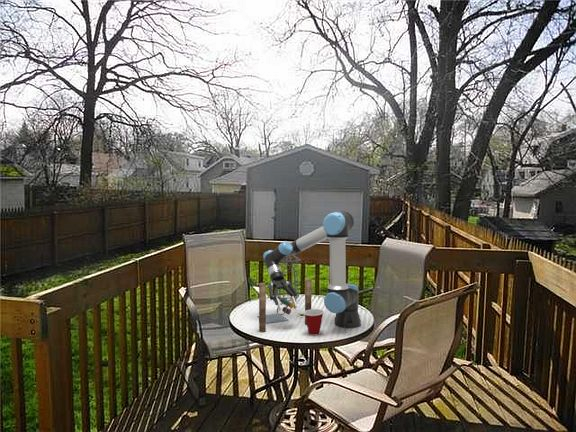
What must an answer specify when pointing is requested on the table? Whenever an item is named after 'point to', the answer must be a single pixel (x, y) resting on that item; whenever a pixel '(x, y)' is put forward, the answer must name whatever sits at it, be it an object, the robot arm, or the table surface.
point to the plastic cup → (314, 320)
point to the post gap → (263, 302)
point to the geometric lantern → (294, 274)
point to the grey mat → (274, 318)
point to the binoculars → (287, 303)
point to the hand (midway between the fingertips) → (288, 308)
